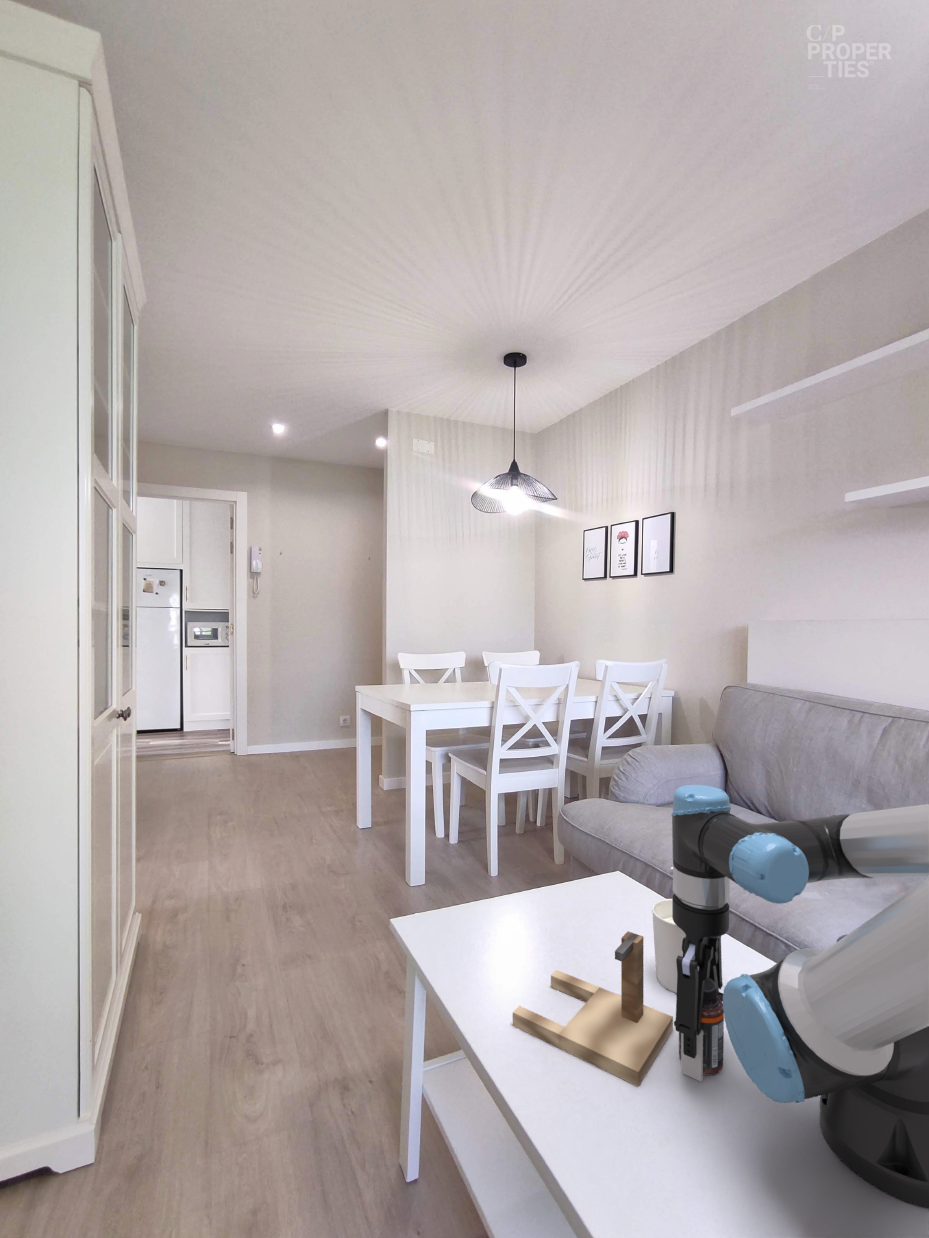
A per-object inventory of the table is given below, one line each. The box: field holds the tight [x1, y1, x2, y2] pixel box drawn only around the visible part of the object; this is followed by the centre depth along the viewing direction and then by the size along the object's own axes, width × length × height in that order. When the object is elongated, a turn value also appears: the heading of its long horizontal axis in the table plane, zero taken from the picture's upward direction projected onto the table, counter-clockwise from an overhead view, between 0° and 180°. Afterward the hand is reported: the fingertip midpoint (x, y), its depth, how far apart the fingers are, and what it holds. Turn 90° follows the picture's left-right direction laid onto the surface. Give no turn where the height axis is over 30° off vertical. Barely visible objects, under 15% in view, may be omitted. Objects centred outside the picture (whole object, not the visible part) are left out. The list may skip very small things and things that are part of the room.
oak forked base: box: [512, 969, 674, 1087], centre depth 92 cm, size 20×14×2 cm
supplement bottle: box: [678, 978, 725, 1076], centre depth 85 cm, size 6×6×11 cm
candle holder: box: [651, 898, 686, 994], centre depth 104 cm, size 10×10×12 cm
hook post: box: [614, 931, 644, 1023], centre depth 90 cm, size 2×6×12 cm, turn 143°
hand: (700, 1058), depth 85 cm, fingers open, 7 cm apart
